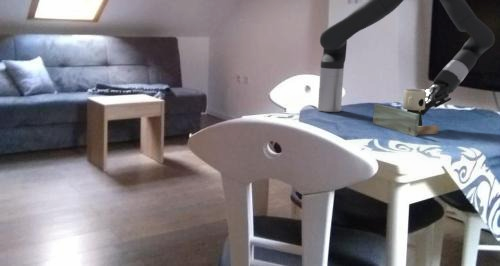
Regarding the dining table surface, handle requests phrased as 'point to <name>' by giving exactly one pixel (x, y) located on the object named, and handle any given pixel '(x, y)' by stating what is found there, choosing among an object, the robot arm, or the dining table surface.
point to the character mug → (414, 102)
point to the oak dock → (401, 121)
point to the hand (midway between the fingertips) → (419, 113)
